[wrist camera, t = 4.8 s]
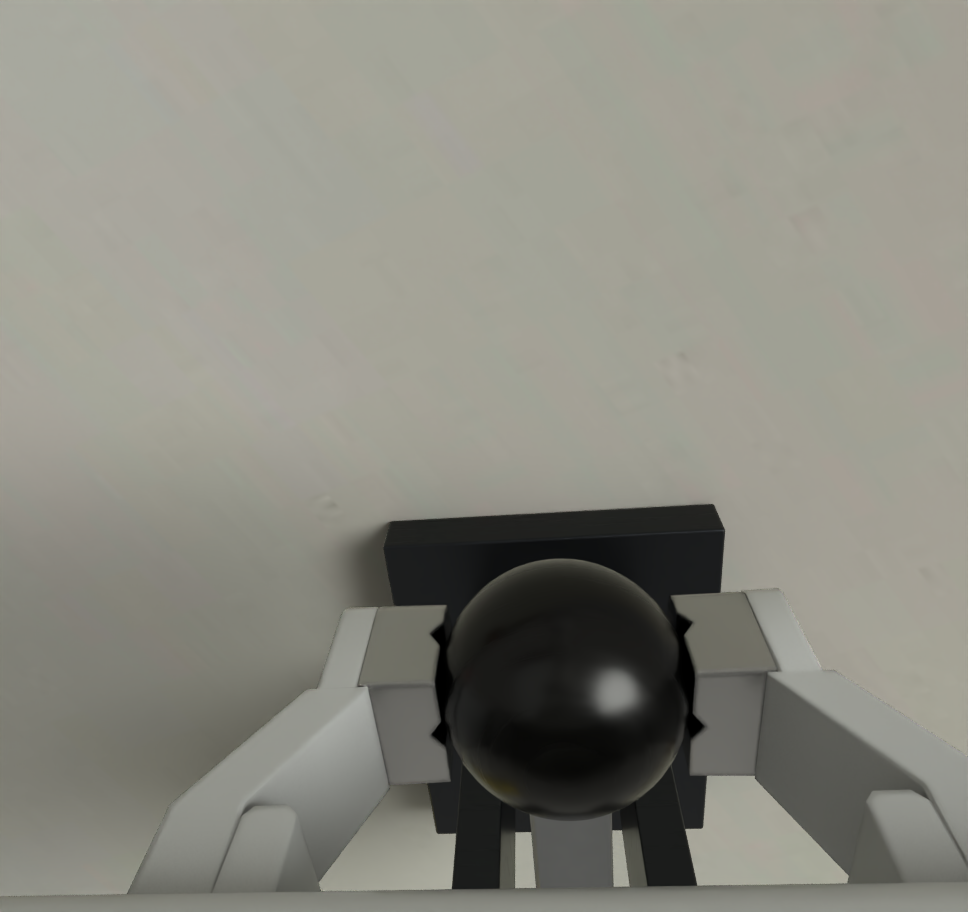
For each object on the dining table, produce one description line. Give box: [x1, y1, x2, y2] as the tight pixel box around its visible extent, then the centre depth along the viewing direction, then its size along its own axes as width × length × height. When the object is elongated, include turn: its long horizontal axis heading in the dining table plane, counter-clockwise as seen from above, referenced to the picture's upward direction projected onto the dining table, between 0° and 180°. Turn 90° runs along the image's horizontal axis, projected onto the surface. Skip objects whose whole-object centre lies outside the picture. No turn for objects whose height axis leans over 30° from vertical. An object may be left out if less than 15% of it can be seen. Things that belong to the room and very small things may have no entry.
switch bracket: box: [383, 504, 725, 889], centre depth 18 cm, size 12×9×13 cm
